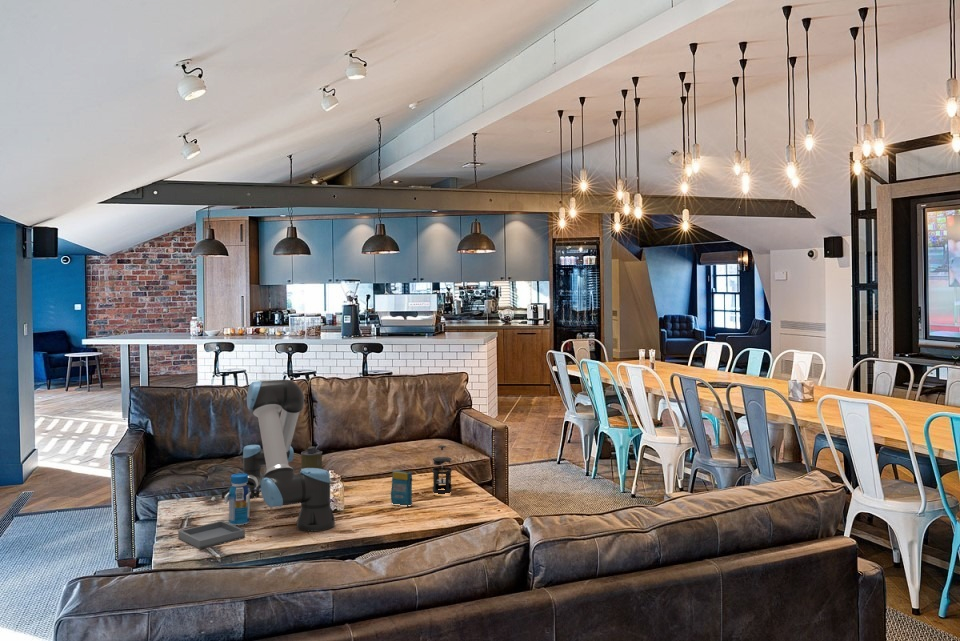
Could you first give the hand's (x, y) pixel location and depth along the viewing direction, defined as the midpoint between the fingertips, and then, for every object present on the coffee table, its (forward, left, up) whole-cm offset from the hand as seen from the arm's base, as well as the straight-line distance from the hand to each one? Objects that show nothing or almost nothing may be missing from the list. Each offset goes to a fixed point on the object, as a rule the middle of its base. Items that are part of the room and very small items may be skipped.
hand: (236, 499), depth 293 cm
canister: (+32, -57, -11) cm, 66 cm away
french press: (-25, -91, -11) cm, 95 cm away
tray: (-6, +14, -11) cm, 19 cm away
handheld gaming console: (-26, -65, -11) cm, 71 cm away
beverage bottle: (+4, -3, -11) cm, 12 cm away
